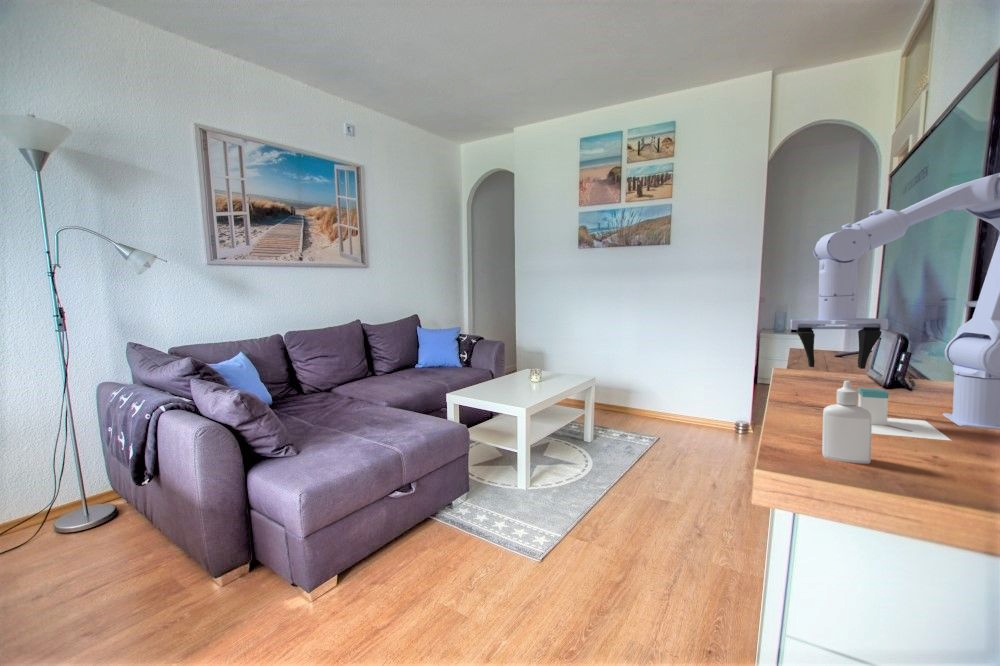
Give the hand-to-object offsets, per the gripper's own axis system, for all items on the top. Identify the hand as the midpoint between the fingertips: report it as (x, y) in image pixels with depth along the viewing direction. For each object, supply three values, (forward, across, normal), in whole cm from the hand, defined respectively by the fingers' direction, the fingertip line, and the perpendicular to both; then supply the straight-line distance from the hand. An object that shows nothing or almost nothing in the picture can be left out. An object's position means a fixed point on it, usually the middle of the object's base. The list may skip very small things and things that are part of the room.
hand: (835, 367), depth 83 cm
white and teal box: (+10, +6, 0) cm, 12 cm away
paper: (+10, +8, -2) cm, 13 cm away
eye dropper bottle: (+11, -2, -23) cm, 25 cm away
